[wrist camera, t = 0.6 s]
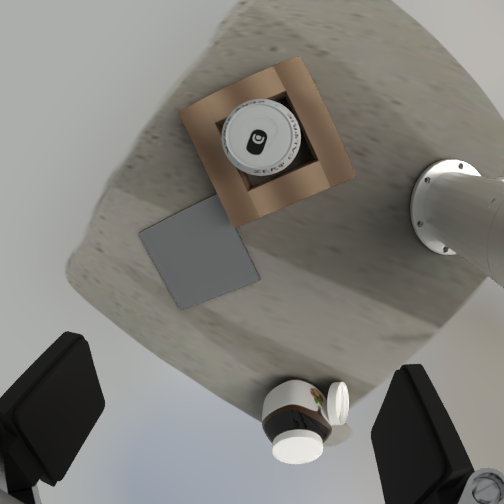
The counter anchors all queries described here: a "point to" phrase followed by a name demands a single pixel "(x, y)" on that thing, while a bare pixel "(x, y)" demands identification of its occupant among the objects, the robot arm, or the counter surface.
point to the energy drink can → (261, 137)
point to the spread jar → (302, 418)
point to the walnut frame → (285, 184)
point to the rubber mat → (199, 253)
